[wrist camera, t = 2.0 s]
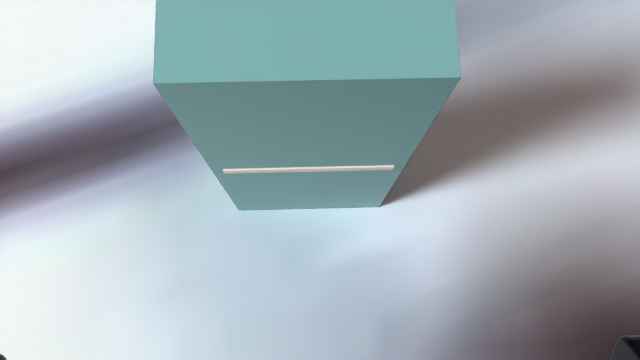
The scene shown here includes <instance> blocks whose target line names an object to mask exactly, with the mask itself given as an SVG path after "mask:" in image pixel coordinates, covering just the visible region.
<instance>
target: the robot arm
mask: <svg viewBox="0 0 640 360" xmlns="http://www.w3.org/2000/svg"><path fill="white" fill-rule="evenodd" d="M0 360H6V358H5V357H4V356H3V355H2V354H0ZM610 360H640V335H629V336H621V337H620V338H619V339H618V340H617V341H616V343H615V346H614V349H613V351H612V354H611V357H610Z"/></svg>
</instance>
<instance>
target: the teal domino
mask: <svg viewBox="0 0 640 360" xmlns="http://www.w3.org/2000/svg"><path fill="white" fill-rule="evenodd" d="M460 78H461V73H460V61H459V49H458V37H457V25H456V13H455V1H454V0H156V19H155V47H154V74H153V84H154V85H155V87H156V88H157V90H158V91H159V93H160V94H161V96H162V97H163V99H164V100H165V102H166V103H167V105H168V106H169V108H170V109H171V110H172V112H173V113H174V115H175V116H176V118H177V119H178V121H179V122H180V124H181V125H182V127H183V128H184V130H185V131H186V133H187V134H188V136H189V137H190V139H191V140H192V142H193V143H194V145H195V146H196V148H197V149H198V150H199V152H200V153H201V155H202V156H203V158H204V159H205V161H206V162H207V164H208V165H209V167H210V168H211V170H212V171H213V173H214V174H215V176H216V177H217V179H218V180H219V182H220V183H221V185H222V186H223V187H224V189H225V190H226V192H227V193H228V195H229V196H230V198H231V199H232V201H233V202H234V204H235V205H236V207H237V208H238V210H275V209H317V208H359V207H380V205H381V203H382V202H383V200H384V199H385V197H386V195H387V194H388V192H389V191H390V189H391V187H392V186H393V184H394V183H395V181H396V180H397V178H398V176H399V175H400V173H401V172H402V170H403V168H404V167H405V165H406V164H407V162H408V160H409V159H410V157H411V156H412V154H413V153H414V151H415V149H416V148H417V146H418V145H419V143H420V141H421V140H422V138H423V137H424V135H425V133H426V132H427V130H428V129H429V127H430V126H431V124H432V122H433V121H434V119H435V118H436V116H437V114H438V113H439V111H440V110H441V108H442V107H443V105H444V103H445V102H446V100H447V99H448V97H449V95H450V94H451V92H452V91H453V89H454V87H455V86H456V84H457V83H458V81H459V80H460Z"/></svg>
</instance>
